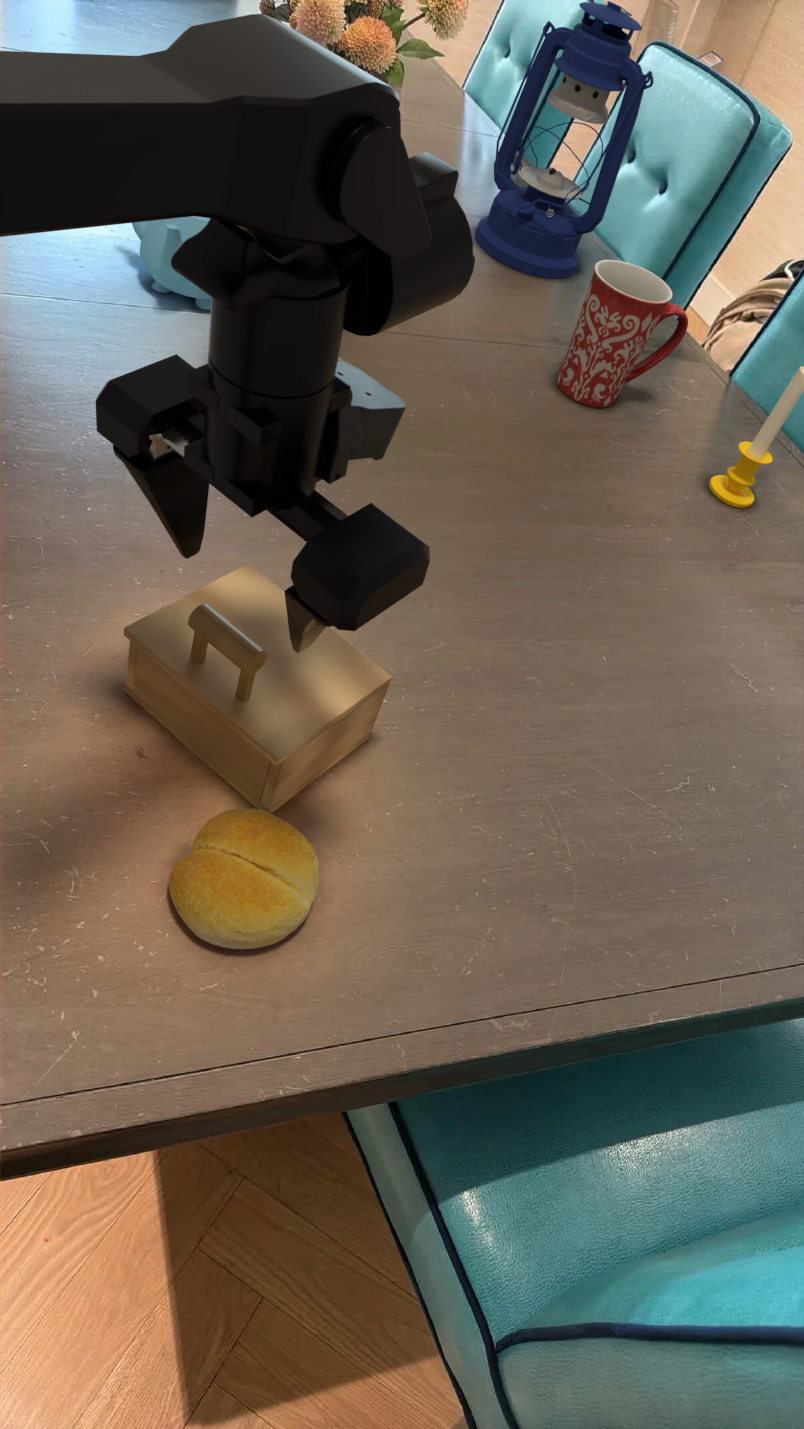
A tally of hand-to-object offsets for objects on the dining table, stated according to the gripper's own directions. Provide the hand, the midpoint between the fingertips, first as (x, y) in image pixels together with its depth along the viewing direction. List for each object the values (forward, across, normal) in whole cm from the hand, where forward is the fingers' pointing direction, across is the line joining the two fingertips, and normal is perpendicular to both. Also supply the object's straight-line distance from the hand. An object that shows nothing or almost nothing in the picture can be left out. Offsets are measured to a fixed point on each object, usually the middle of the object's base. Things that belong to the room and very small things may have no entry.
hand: (245, 600), depth 57 cm
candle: (+21, -7, -68) cm, 72 cm away
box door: (+8, +1, -3) cm, 9 cm away
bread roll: (+13, -9, +7) cm, 18 cm away
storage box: (+14, +1, -3) cm, 15 cm away
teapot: (+18, +49, -40) cm, 65 cm away
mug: (+21, +13, -70) cm, 75 cm away
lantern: (+24, +40, -94) cm, 105 cm away
